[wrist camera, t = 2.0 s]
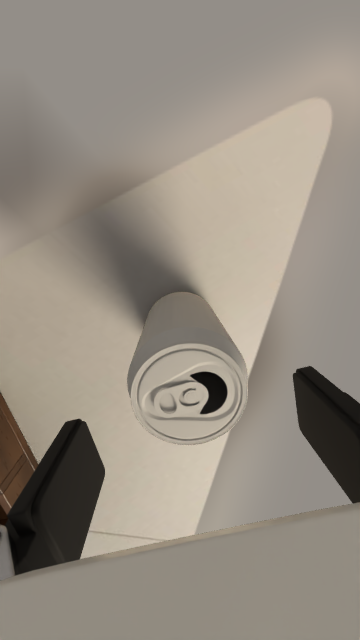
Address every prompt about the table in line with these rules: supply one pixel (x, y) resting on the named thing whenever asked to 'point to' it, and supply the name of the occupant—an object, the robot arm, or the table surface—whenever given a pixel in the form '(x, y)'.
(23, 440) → the tray
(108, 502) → the table surface
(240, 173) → the table surface
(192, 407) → the beverage can
